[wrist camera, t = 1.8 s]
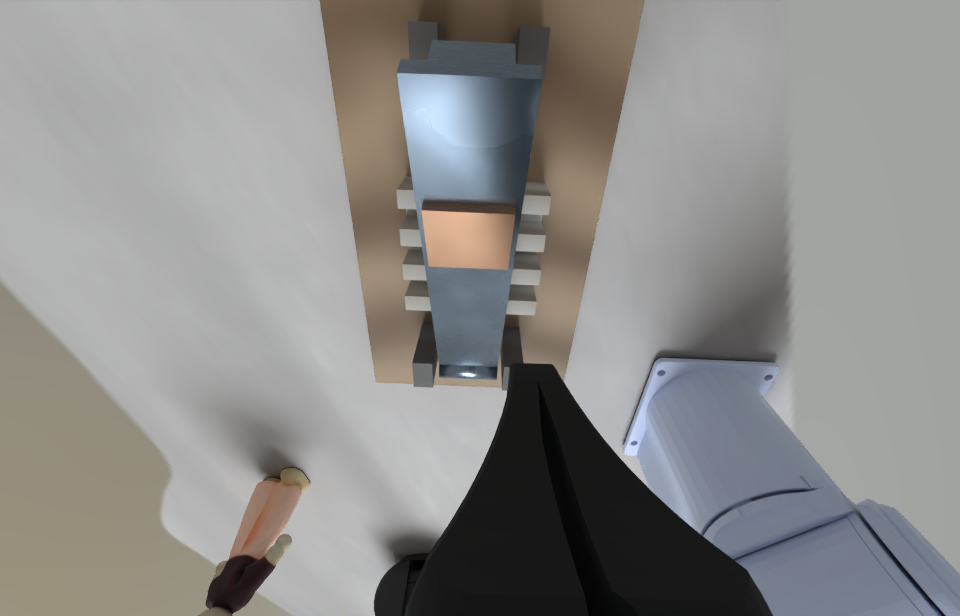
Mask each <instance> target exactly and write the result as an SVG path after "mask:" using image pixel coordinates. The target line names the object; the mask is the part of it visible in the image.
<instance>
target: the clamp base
mask: <svg viewBox="0 0 960 616" xmlns="http://www.w3.org/2000/svg"><path fill="white" fill-rule="evenodd" d="M320 5H321V12H322V18H323V25H324V32H325V39H326V46H327V52H328V59H329V66H330V73H331V80H332V86H333V93H334V100H335V107H336V114H337V120H338V127H339V134H340V141H341V148H342V154H343V161H344V168H345V175H346V182H347V188H348V195H349V202H350V209H351V216H352V222H353V229H354V236H355V243H356V250H357V256H358V263H359V270H360V277H361V284H362V290H363V297H364V304H365V311H366V318H367V324H368V331H369V338H370V345H371V352H372V358H373V365H374V372H375V379H376V382H379V383H403V384H414V387H433V385H450V386H474V387H498V388H502V390H506V391H507V388H508V378H509V368H510V365H511V364H513V363H535V364H553V365H554V366H555V368H556V369H557V371H558V373H559V375H560V377H561V378H562V380H563V382H564V378H565V373H566V369H567V364H568V359H569V354H570V350H571V345H572V340H573V336H574V331H575V326H576V321H577V317H578V312H579V307H580V302H581V298H582V293H583V288H584V284H585V279H586V274H587V269H588V265H589V260H590V255H591V250H592V246H593V241H594V236H595V232H596V227H597V222H598V217H599V213H600V208H601V203H602V198H603V194H604V189H605V184H606V180H607V175H608V170H609V165H610V161H611V156H612V151H613V146H614V142H615V137H616V132H617V128H618V123H619V118H620V113H621V109H622V104H623V99H624V94H625V90H626V85H627V80H628V76H629V71H630V66H631V61H632V57H633V52H634V47H635V43H636V38H637V33H638V28H639V24H640V19H641V14H642V9H643V5H644V0H320ZM432 40H444V41H466V42H488V43H510V44H515V50H516V64H521V65H541V72H542V85H541V92H540V98H539V104H538V111H537V117H536V124H535V130H534V137H533V143H532V149H531V156H530V162H529V169H528V175H527V182H526V188H525V194H524V201H523V207H522V214H521V220H520V227H519V233H518V239H517V246H516V252H515V259H514V265H513V272H512V278H511V284H510V291H509V297H508V304H507V310H506V317H505V323H504V329H503V336H502V342H501V349H500V355H499V362H498V371H497V380H476V379H452V378H439V360H438V354H437V347H436V340H435V333H434V326H433V319H432V312H431V306H430V299H429V292H428V285H427V278H426V271H425V265H424V258H423V251H422V244H421V237H420V230H419V224H418V217H417V210H416V203H415V196H414V189H413V182H412V176H411V169H410V162H409V155H408V148H407V141H406V135H405V128H404V121H403V114H402V107H401V100H400V94H399V87H398V80H397V69H398V66H399V63H400V60H401V59H411V60H428V55H429V51H430V47H431V43H432Z"/></svg>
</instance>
